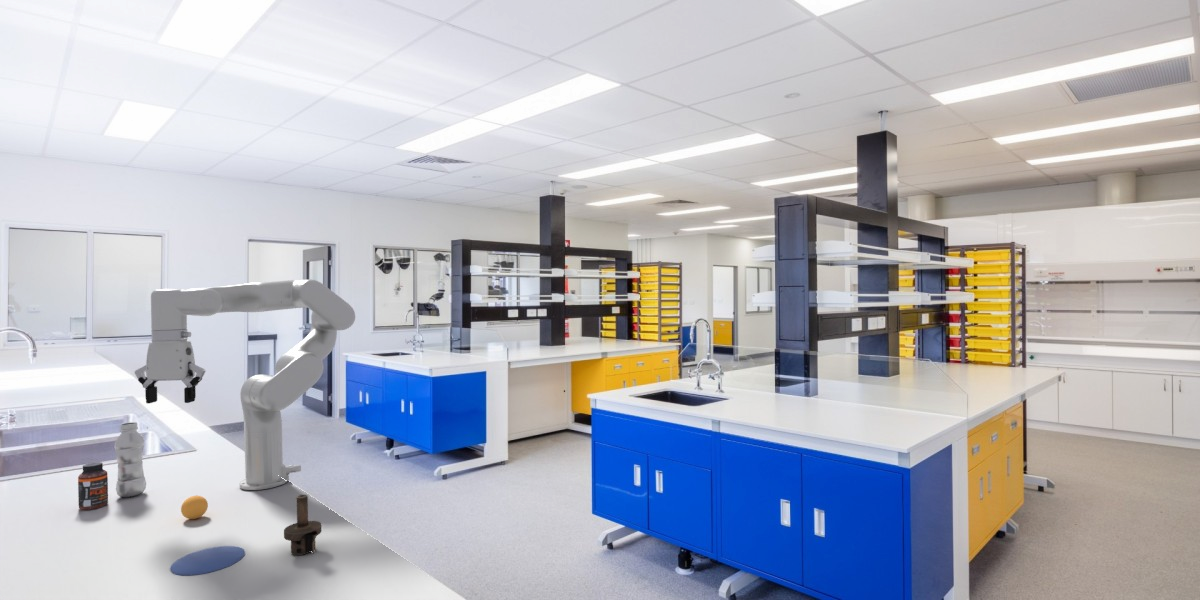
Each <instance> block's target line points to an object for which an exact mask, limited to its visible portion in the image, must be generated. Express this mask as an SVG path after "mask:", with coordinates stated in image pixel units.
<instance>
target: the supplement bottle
mask: <svg viewBox="0 0 1200 600" xmlns="http://www.w3.org/2000/svg"><path fill="white" fill-rule="evenodd" d="M103 467H104V465H103V462H102V461H99V462H98V461H97V462H88V463H86V464H83V465H82V472H81V473H80V474H79V475H78V477H77V486H78V489H77V490H78V494H77V495H78V496H77V497H78V509H79V510H80V511H81V510H82V511H91V510H96V509H102V508H103V507H105V506H107V505H108V503H109V479H108V471H107V470H105V469H103Z"/></svg>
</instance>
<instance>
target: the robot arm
mask: <svg viewBox="0 0 1200 600" xmlns="http://www.w3.org/2000/svg"><path fill="white" fill-rule="evenodd" d="M301 308H302V309H304V308H305V309H307V308H308V309H309V310H310V311H311V315H310V316H311V317H310V319H311V321H310V322H311V325H310V330H309V332H308V334H307V335H306V336H305V337H304V338H302V340H301V341H300V342H298V343H297V344H296V345H294V346H293V347H292V348H291V349H289V350H288V351H286V352H285V353H284V354H283V355H281V356H280V357H279V358H278V359H277V361H276V362H275V365H274V372H275V375H269V374H262V373H261V374H254V375H253V376H250V377H249V378H248V379H246V380H245V381H244V382H243V384H242V386H241V389H240V394H239V395H240V403H241V409H242V414H243V427H244V428H243V429H244V431H243V432H244V435H243V436H244V464H245V465H244V470H245V478H243V480H241V481H240V482H239V489H241V490H245V491H260V490H261V491H262V490H268V489H271V488H272V489H273V488H275V487H276V488H277V487H279V486H282V485H285V484H286V483H287V481H288V482H289V480H290V474H292V473H298V472H301V471H302V466H301V464H298V465H294V464H292V465H290V464H289V465H287V466H286V464H284V462H283V461H284V460H283V459H284V458H283V456H284V455H283V454H284V453H283V452H284V451H283V427H282V426H283V423H282V422H283V420H282V412H281V411H282V410H284V409H286V408H288V407H290V406H291V405H292V404H293V403H295V401H297V400H298V399H299V398H300V397H302V396H303V395H304V394H305V393H307V392H308V390H310V389H311V388H312V387H313V386H314V385H315V384H317V382H318V381H319V380H320V378H322V375H323V373H324V362H323V360H324V359H325V358H326V357H328V355H330V353H332V351H333V350H334V348H335V345H336V341H337V335H338V331H345V330H347V329H349V328H351V327H352V326H353V325H354V323H355V321H356V313H355V310H354V308H353V307H352V306H351V304H349V303H348V302H347V301H346V300H344V299H343V298H342V297H340V296H339V295H338V294H336V293H335V292H334V291H333V290H331V289H330V288H329V287H327V286H326V285H324V283H321V282H320V281H318V280H316V279H312V278H311V279H294V280H293V279H292V280H278V281H277V280H275V281H264V282H263V281H261V282H249V283H244V284H243V283H242V284H235V285H226V286H225V285H224V286H211V287H195V288H188V289H186V290H185V289H181V288H180V289H179V288H162V289H161V288H160V289H154V290H152V292H151V293H150V313H151V314H150V316H151V320H150V321H151V326H150V328H151V342H149V344H148V348H147V353H146V361H145V365H144V366H142V367H139V368H138V369H136V370H135V371H134V375H135V376H136V377H137V381H138V382H139V383H140V384H141V385H142V388H143V389H145V390H144V392H145V402H146V404H153V403H156V402H158V386H155V385H156V384H157V383H158V382H161V381H162V382H163V381H167V382H169V381H170V382H171V381H181V382H182V383H183V384H184V385H185V386H186V387H184V389H183V390H184V391H183V392H184V397H183V398H184V399H183V401H184V403H185V404H189V403H193V402H195V400H196V397H197V396H196V386H198V385H199V383H200V382H201V381H202V380H203V377H204V375H205V373H206V369H205V368H203V367H200V366H199V365H197V364H196V361H195V360H196V359H195V353H194V349H193V346H192V341H190V340H188V338H191V337H192V331H188V323H187V321H188V318H187V317H188V316H195V317H210V316H213V315H216V314H218V313H219V314H221V313H236V312H237V313H259V312H260V313H262V312H272V311H279V310H281V311H283V310H292V309H301ZM145 373H146V376H145ZM278 475H279V476H278ZM281 477H282V478H284V479H285V480H287V481H285V480H284V479H282V478H281ZM285 482H286V483H285Z"/></svg>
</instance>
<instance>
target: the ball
mask: <svg viewBox="0 0 1200 600" xmlns="http://www.w3.org/2000/svg"><path fill="white" fill-rule="evenodd" d="M208 507H209V503H208V501H207V499H206V498H205V497H204V496H201V495H191V496H190V497H188V498H186V499H185V500H184V501H183V502H182V504H181V507H180V512H181V514H182V516H183V517H184V518H186V519H188V520H196V519H199V518H201V517H202V516H204V514H206V512H207V510H208Z"/></svg>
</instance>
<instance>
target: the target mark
mask: <svg viewBox="0 0 1200 600" xmlns="http://www.w3.org/2000/svg"><path fill="white" fill-rule="evenodd" d="M245 555H246V551H245V549H244V548H242V547H239V546H234V545H224V546H223V545H222V546H215V547H208V548H205V549H201V550H198V551H197V550H196V551H193V552H192V553H189V554H186V555H184V556H181V557H180V558H178V559H177V560H175V561H173V562H172V564H171V566H170V568H169V569H170V572H171V573H172V574H174V573H175V575H178V576H196V575H197V576H198V575H203V574H204V575H205V574H209V573H212V572H216V571H219V570H222V569H226V568H229V567H230V566H232V565H234V564H236V563H238V562H239V561H241V559H243V558H244V557H245Z"/></svg>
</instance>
